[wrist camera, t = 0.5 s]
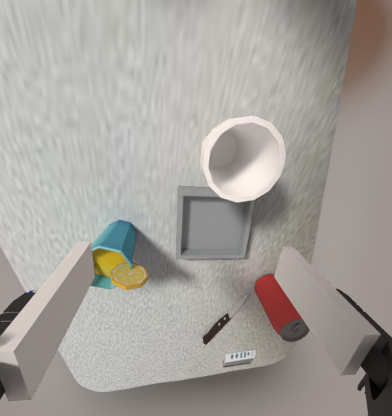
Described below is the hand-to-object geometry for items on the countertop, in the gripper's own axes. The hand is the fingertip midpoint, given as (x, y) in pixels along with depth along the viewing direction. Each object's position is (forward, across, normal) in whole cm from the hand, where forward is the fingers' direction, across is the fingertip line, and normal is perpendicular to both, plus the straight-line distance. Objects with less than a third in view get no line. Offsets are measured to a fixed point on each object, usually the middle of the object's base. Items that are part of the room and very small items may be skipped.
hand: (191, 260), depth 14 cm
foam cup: (+24, +6, +6) cm, 25 cm away
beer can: (+24, +22, -24) cm, 40 cm away
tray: (+23, +7, -8) cm, 26 cm away
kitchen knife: (+24, +14, -34) cm, 44 cm away
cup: (+24, -11, -11) cm, 28 cm away
